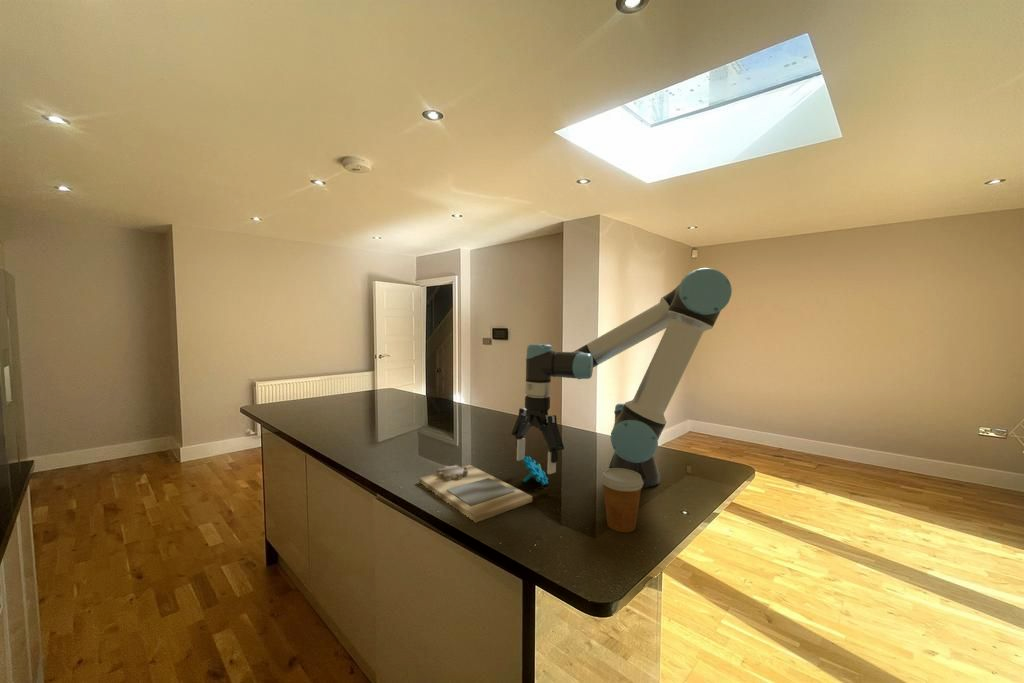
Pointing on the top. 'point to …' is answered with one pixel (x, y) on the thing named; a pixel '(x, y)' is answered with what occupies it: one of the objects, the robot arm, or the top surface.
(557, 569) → the top surface
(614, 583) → the top surface
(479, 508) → the carrier board
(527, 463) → the gear
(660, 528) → the top surface
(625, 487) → the disposable coffee cup
